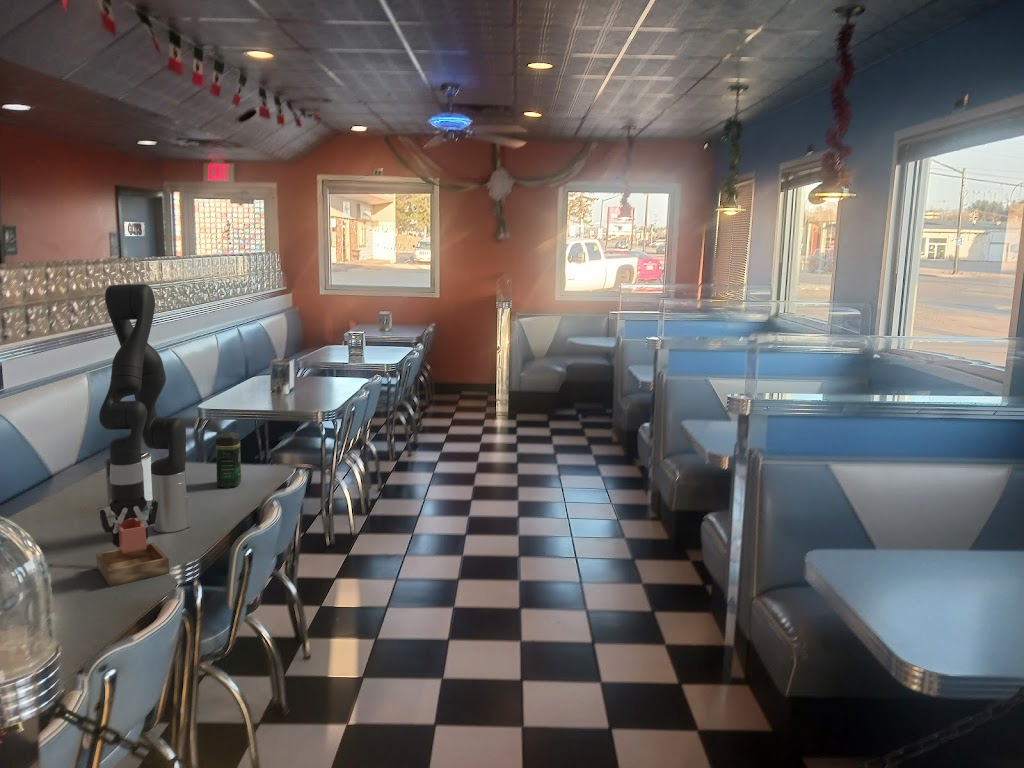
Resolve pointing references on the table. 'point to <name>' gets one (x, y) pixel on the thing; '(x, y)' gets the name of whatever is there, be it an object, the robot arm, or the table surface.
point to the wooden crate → (132, 565)
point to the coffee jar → (228, 459)
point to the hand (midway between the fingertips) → (130, 543)
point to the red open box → (132, 536)
